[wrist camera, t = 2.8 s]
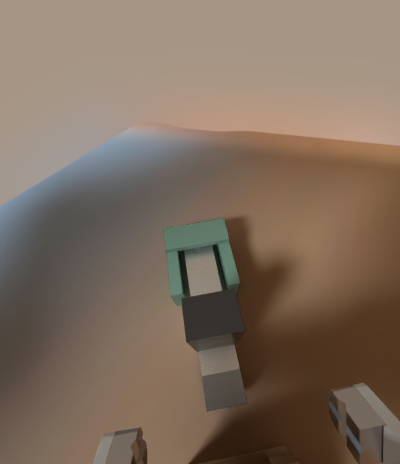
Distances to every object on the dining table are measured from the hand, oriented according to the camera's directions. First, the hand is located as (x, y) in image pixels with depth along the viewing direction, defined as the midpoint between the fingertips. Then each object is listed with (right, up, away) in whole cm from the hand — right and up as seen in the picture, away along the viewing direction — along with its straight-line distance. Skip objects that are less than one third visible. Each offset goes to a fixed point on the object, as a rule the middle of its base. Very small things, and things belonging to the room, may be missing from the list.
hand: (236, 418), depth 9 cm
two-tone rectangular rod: (-1, +1, +11) cm, 11 cm away
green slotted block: (-1, +4, +14) cm, 15 cm away
